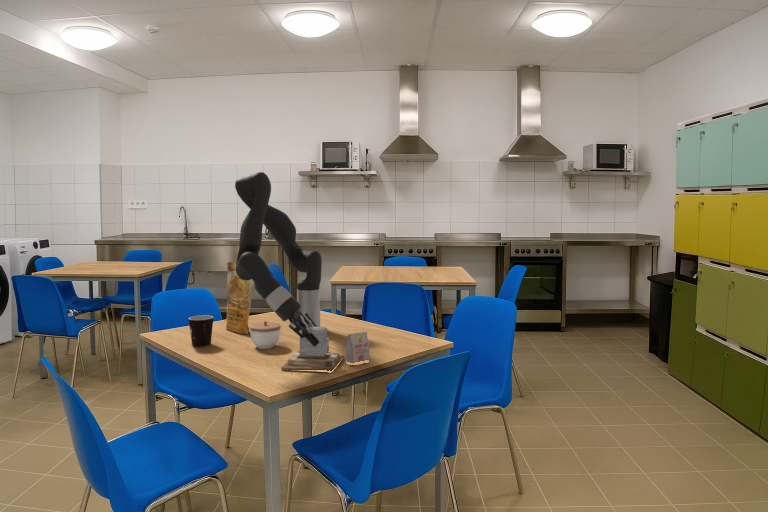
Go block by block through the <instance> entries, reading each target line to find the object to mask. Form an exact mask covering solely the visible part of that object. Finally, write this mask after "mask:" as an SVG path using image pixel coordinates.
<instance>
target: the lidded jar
mask: <svg viewBox="0 0 768 512" xmlns="http://www.w3.org/2000/svg"><path fill="white" fill-rule="evenodd" d="M281 327H282V326H281V324H280V323H276V322H268V321H267V320H264V321H263V322H259V323H254V324H251V325H250V326H249V329H250V330H249V333H250V337H251V338H250V339H251V342H252V343H253V345H255V347H256V348H257V349H261V350H268V349H272V348H275V346H276V345H277V344H278V342H279V340H280V336H281Z"/></svg>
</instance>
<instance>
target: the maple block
mask: <svg viewBox="0 0 768 512" xmlns="http://www.w3.org/2000/svg"><path fill="white" fill-rule="evenodd" d="M328 351H329V352H330V338H329V337H327V352H328ZM329 352H328V353H329Z"/></svg>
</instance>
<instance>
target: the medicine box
mask: <svg viewBox="0 0 768 512" xmlns="http://www.w3.org/2000/svg"><path fill="white" fill-rule="evenodd" d="M308 329H309V330H310V332H311V334H313V335H314V336H315V337H316V338H317V339H318V340H319V343H318V344H317V345H316V346H313V345H312V344H311V343H310V342H309V341H308V340H307V338H301V337H300V336H299V351H300V355H302V356H319V357H323V356H324V355H325V354H326V353H327V338H328V327H325V326H324V327H323V326H320V327H308Z"/></svg>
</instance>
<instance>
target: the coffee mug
mask: <svg viewBox="0 0 768 512" xmlns="http://www.w3.org/2000/svg"><path fill="white" fill-rule="evenodd" d="M188 326H189V332H190V339H191V346H192V347H194V346H195V348H196V347H197V348H202V347H209V346H211V345H210V344H212V335H213V327H214V316H212V315H209V314H208V315H206V314H205V315H204V314H201V315H193V316H190V317H188Z"/></svg>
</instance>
